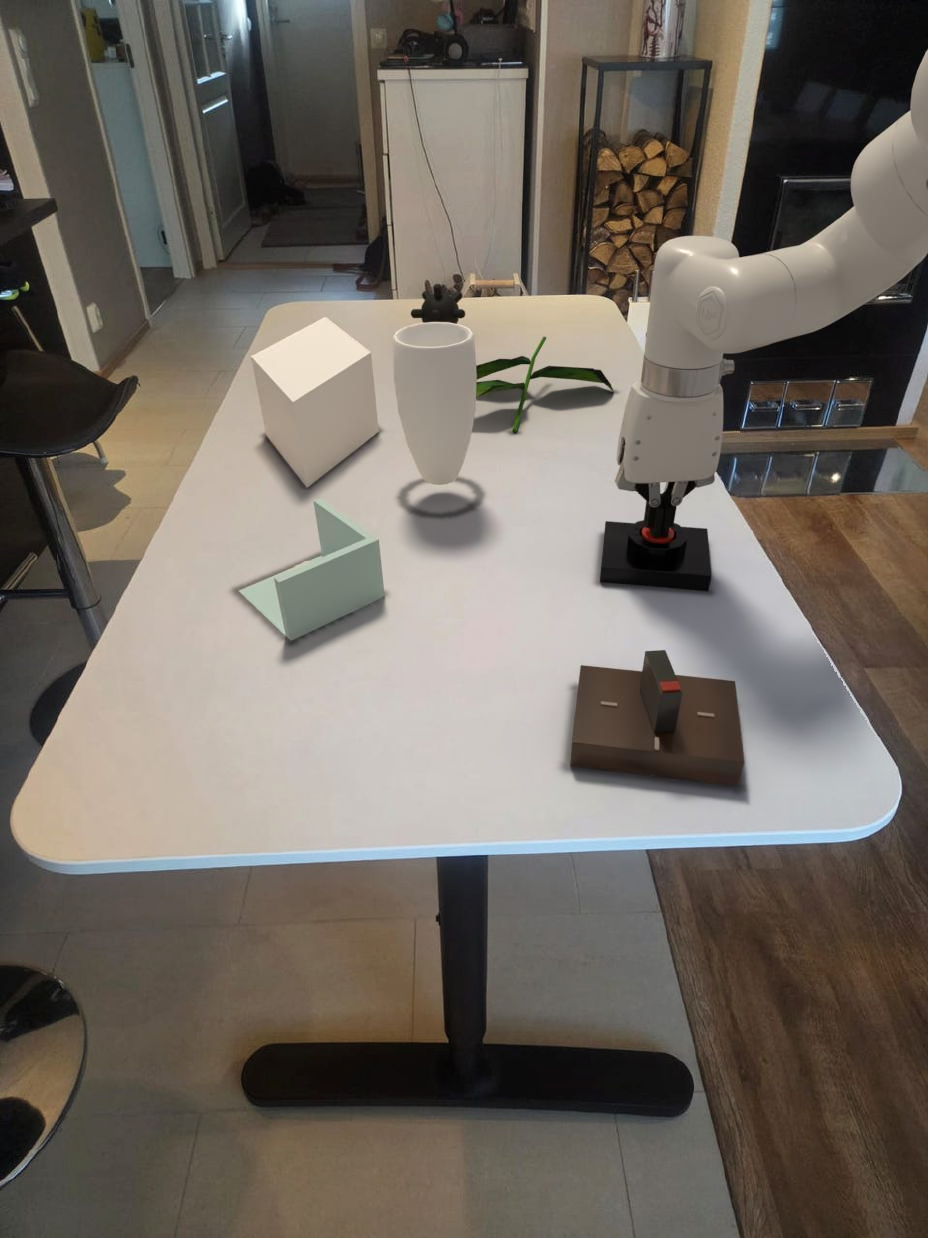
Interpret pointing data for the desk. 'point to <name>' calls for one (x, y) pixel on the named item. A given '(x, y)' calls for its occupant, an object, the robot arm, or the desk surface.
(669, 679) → the handle
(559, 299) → the desk surface
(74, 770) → the desk surface
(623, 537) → the button block
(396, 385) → the cup
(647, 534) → the button
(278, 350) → the block
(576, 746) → the panel
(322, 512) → the right angle wall
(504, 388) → the plant
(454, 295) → the toy ball
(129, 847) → the desk surface
